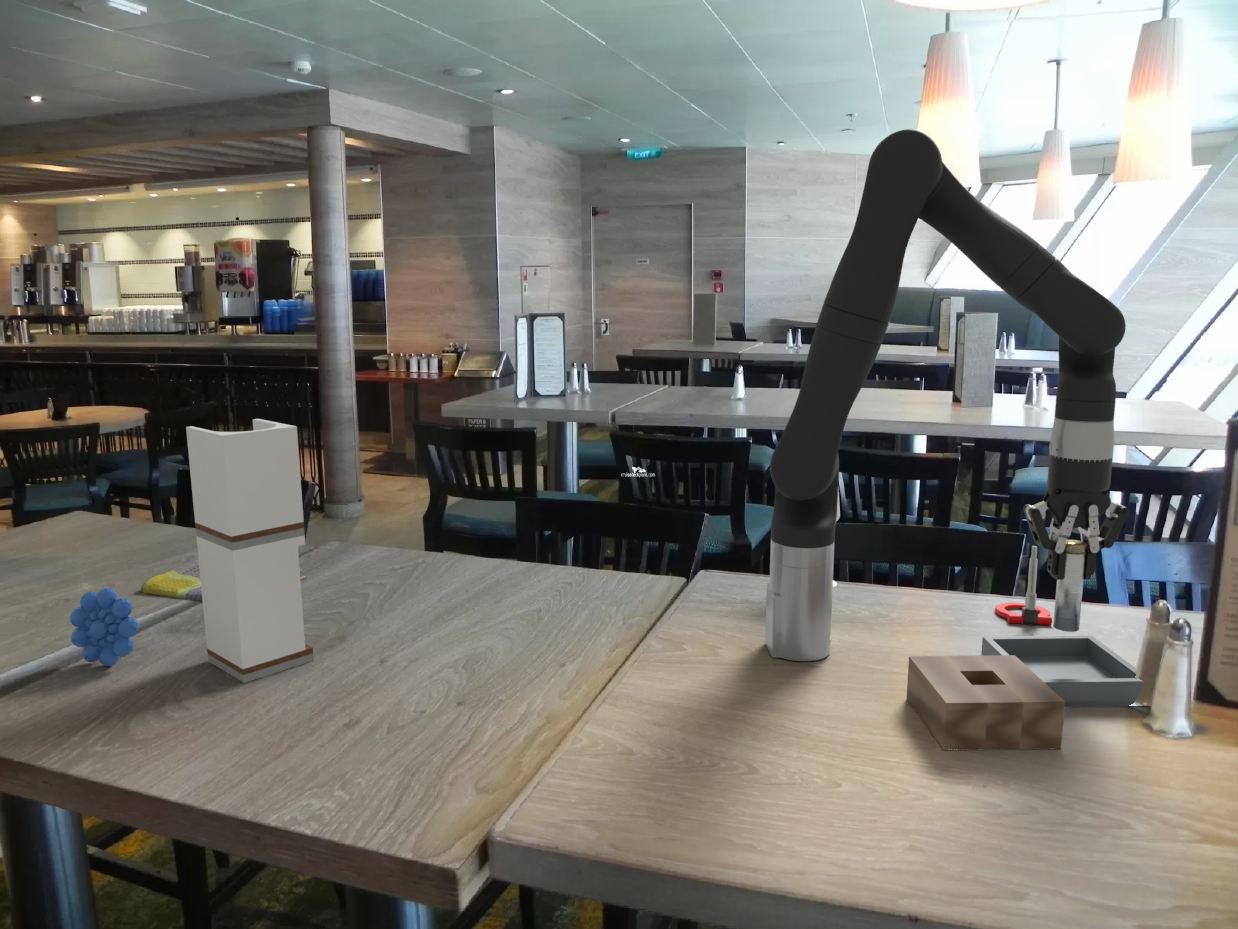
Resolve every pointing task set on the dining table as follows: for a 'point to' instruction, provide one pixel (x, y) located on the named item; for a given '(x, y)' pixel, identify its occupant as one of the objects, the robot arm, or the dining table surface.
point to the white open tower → (250, 547)
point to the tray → (1073, 668)
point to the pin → (1070, 588)
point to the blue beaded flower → (103, 626)
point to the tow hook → (1027, 601)
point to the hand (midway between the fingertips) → (1070, 577)
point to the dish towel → (179, 582)
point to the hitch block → (984, 703)
